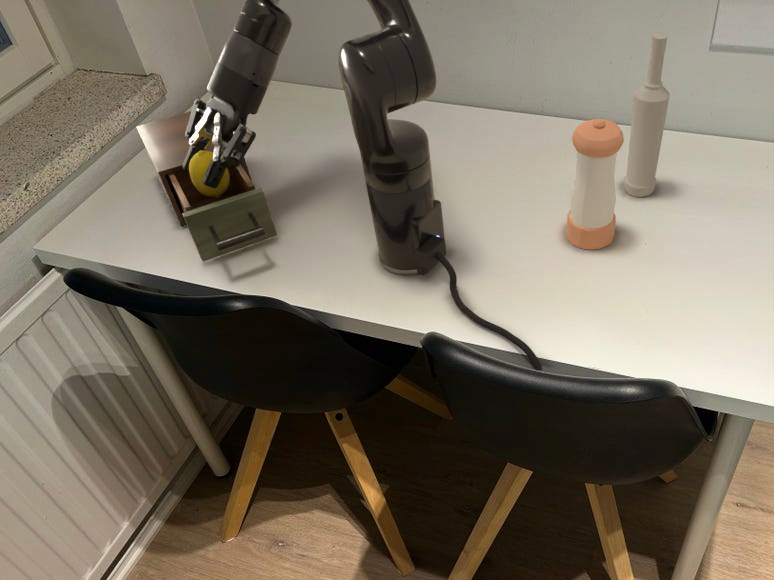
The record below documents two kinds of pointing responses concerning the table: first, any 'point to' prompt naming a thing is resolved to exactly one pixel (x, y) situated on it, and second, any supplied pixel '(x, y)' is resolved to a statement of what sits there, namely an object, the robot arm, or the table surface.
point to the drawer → (224, 214)
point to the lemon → (198, 171)
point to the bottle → (647, 125)
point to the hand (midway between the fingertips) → (199, 178)
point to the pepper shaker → (594, 184)
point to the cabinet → (171, 152)
